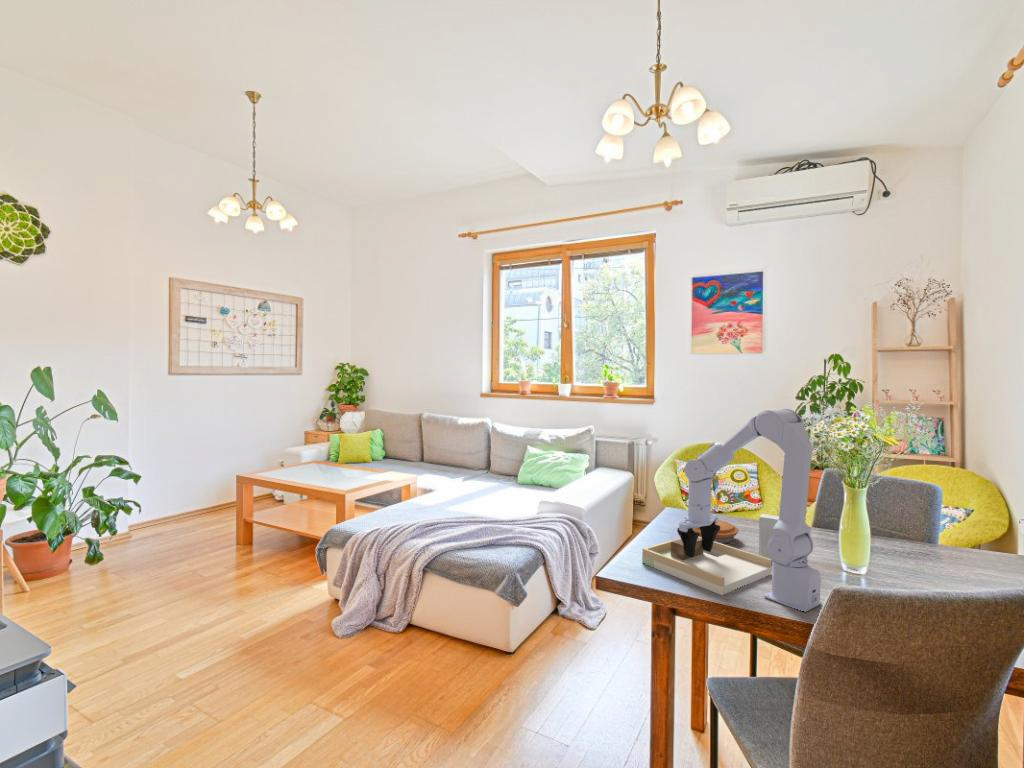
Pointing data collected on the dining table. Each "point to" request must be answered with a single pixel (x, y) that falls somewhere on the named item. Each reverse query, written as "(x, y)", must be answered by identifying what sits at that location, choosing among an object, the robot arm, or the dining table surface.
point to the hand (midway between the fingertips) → (698, 553)
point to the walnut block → (679, 551)
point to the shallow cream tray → (710, 566)
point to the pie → (722, 532)
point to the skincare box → (766, 532)
